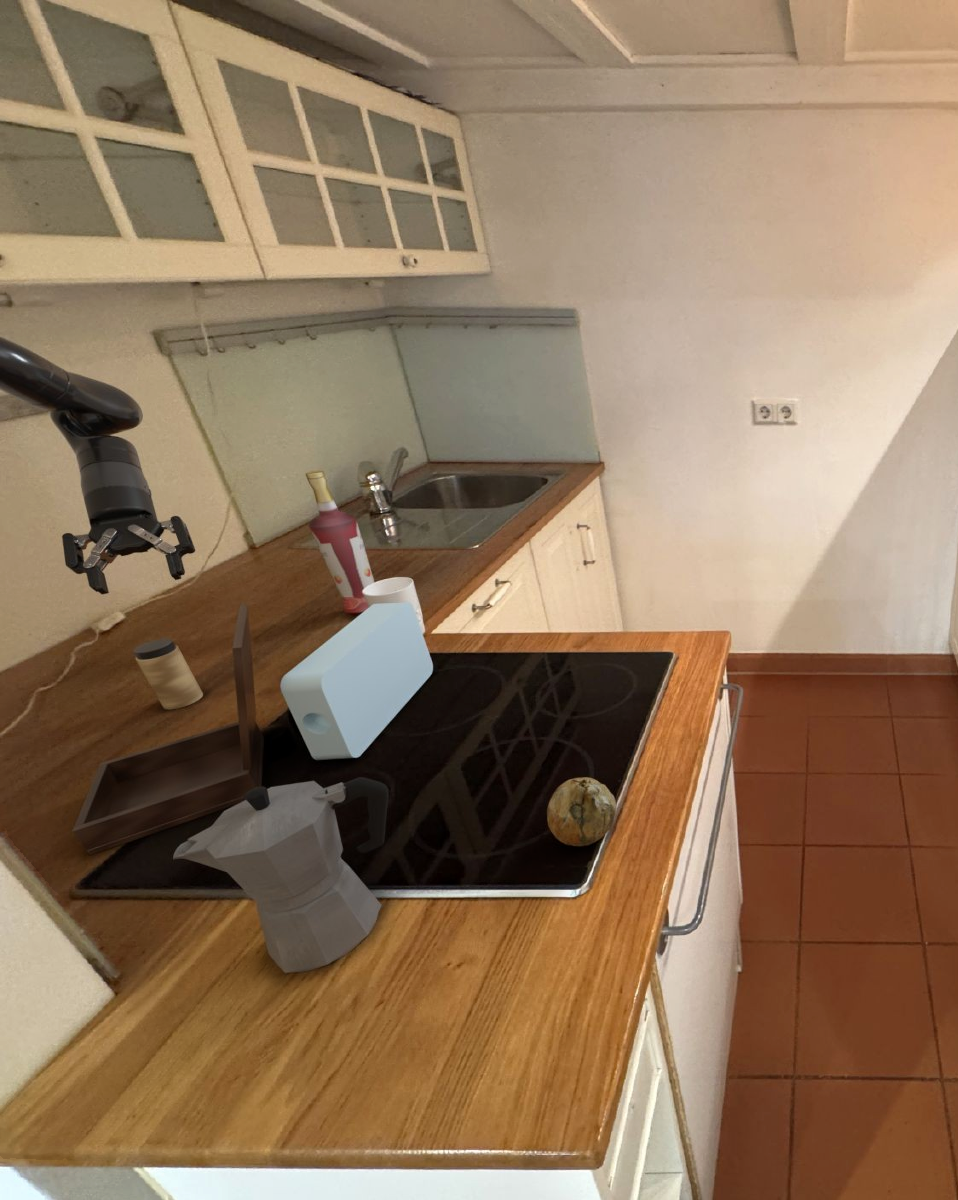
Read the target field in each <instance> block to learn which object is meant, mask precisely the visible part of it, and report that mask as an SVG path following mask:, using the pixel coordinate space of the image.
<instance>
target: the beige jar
mask: <svg viewBox="0 0 958 1200" xmlns="http://www.w3.org/2000/svg"><path fill="white" fill-rule="evenodd" d="M132 651H133V654H134V655H135V661H136V663H137V664H138V666H139V668H140V670H141V671H142V673H143V675H144V676H145V679H146V680H147V682H148V684H149V686H151V689H152V690H153V692H154V694H155V695H156V698H157V699H158V701H159V703H160V704H161V706H162V708H163V709H164V710H177V709H181V708H184V707H187V706H190V705H192V704H195V703H196V702H198V701H200V699H202V698H203V696H204V693H203V691H202V689H201V687H200V685H199V683H198V681H197V679H196V677H195V676H194V674H193V672H192V670H191V667H190V666H189V664H188V663H187V660H186V658H185V657H184V655H183V653H182V651H181V650H180V648H179V646H178V645H177V644H175V642H174V640H173V639H172V638H159V639H154V640H151V641H147V642H144V643H142V644H140V645H138V646H137V647H135V648H134V649H133V650H132Z"/></svg>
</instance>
